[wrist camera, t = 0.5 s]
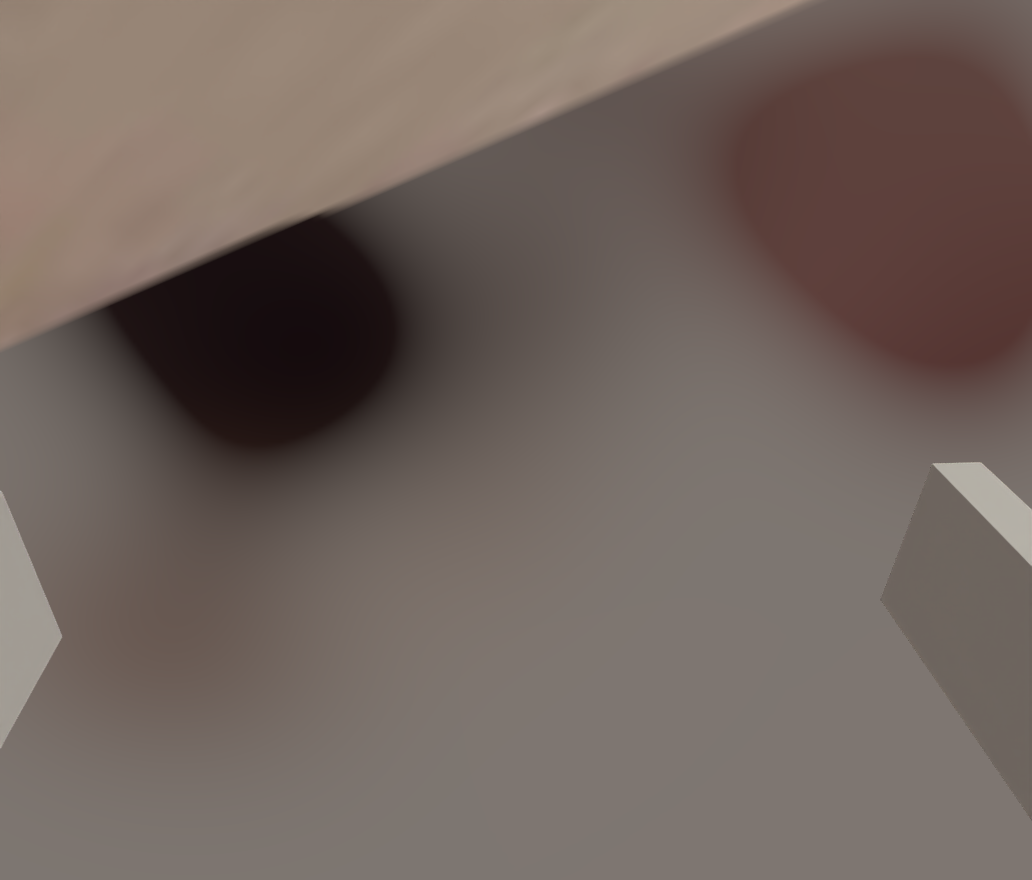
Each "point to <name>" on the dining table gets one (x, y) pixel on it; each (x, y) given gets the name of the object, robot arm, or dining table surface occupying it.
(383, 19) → the dining table surface
